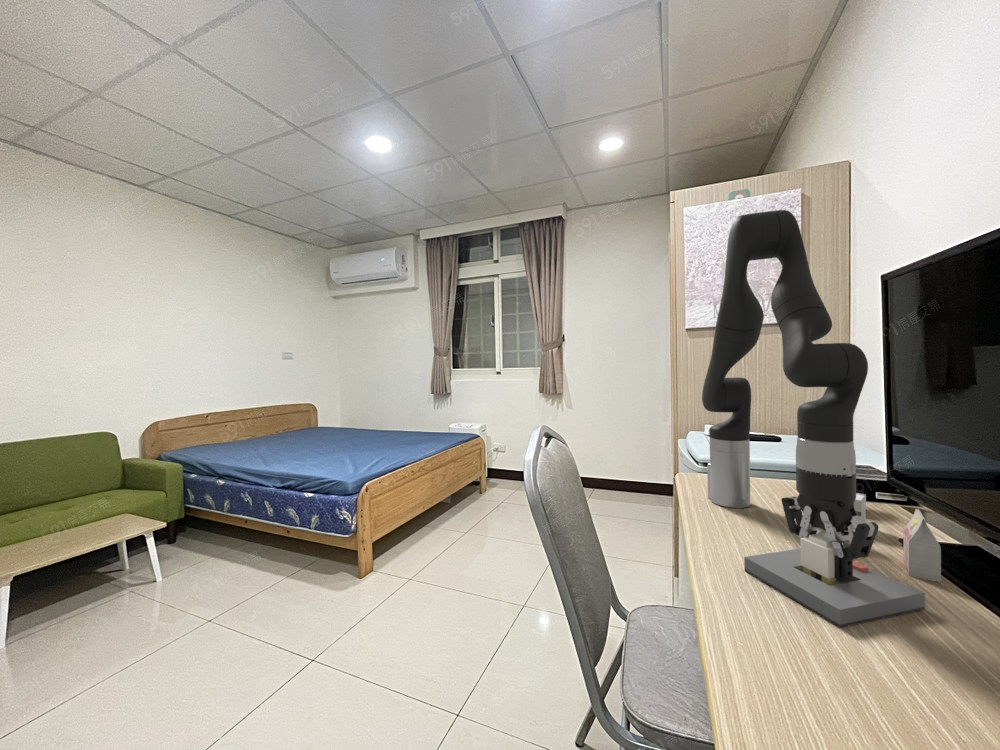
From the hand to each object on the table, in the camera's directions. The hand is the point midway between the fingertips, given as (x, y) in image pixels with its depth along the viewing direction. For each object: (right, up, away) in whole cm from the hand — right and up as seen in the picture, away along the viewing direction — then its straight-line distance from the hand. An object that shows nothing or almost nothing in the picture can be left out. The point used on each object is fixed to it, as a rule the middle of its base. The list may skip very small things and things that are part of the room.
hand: (825, 570), depth 64 cm
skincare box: (+24, -2, +24) cm, 34 cm away
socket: (0, -3, 0) cm, 3 cm away
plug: (0, -1, 0) cm, 1 cm away
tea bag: (+21, -3, +5) cm, 21 cm away
